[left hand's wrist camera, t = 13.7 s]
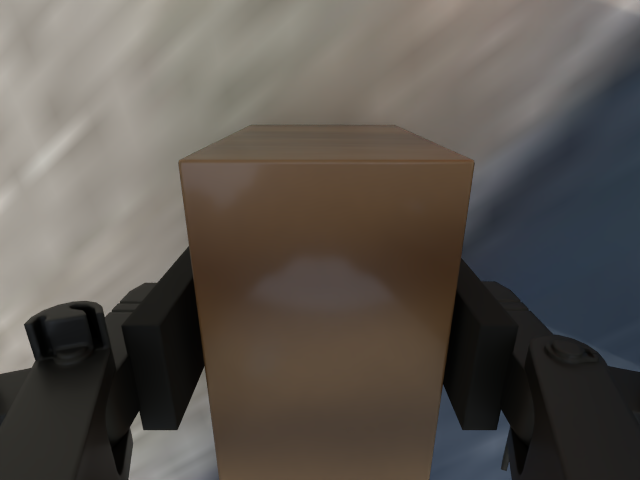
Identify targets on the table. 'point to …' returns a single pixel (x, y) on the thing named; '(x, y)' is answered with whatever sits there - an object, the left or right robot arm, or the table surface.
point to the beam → (325, 296)
